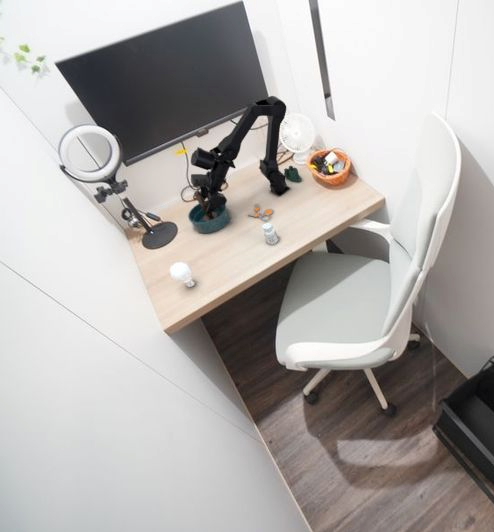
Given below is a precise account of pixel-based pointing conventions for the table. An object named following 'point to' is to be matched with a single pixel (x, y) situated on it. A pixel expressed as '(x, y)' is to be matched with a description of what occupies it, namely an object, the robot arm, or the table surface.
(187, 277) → the lightbulb
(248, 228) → the table surface
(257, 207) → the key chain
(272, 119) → the robot arm
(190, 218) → the bowl
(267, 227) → the pill bottle
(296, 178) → the dark green lumpy piece
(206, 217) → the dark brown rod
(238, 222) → the table surface
